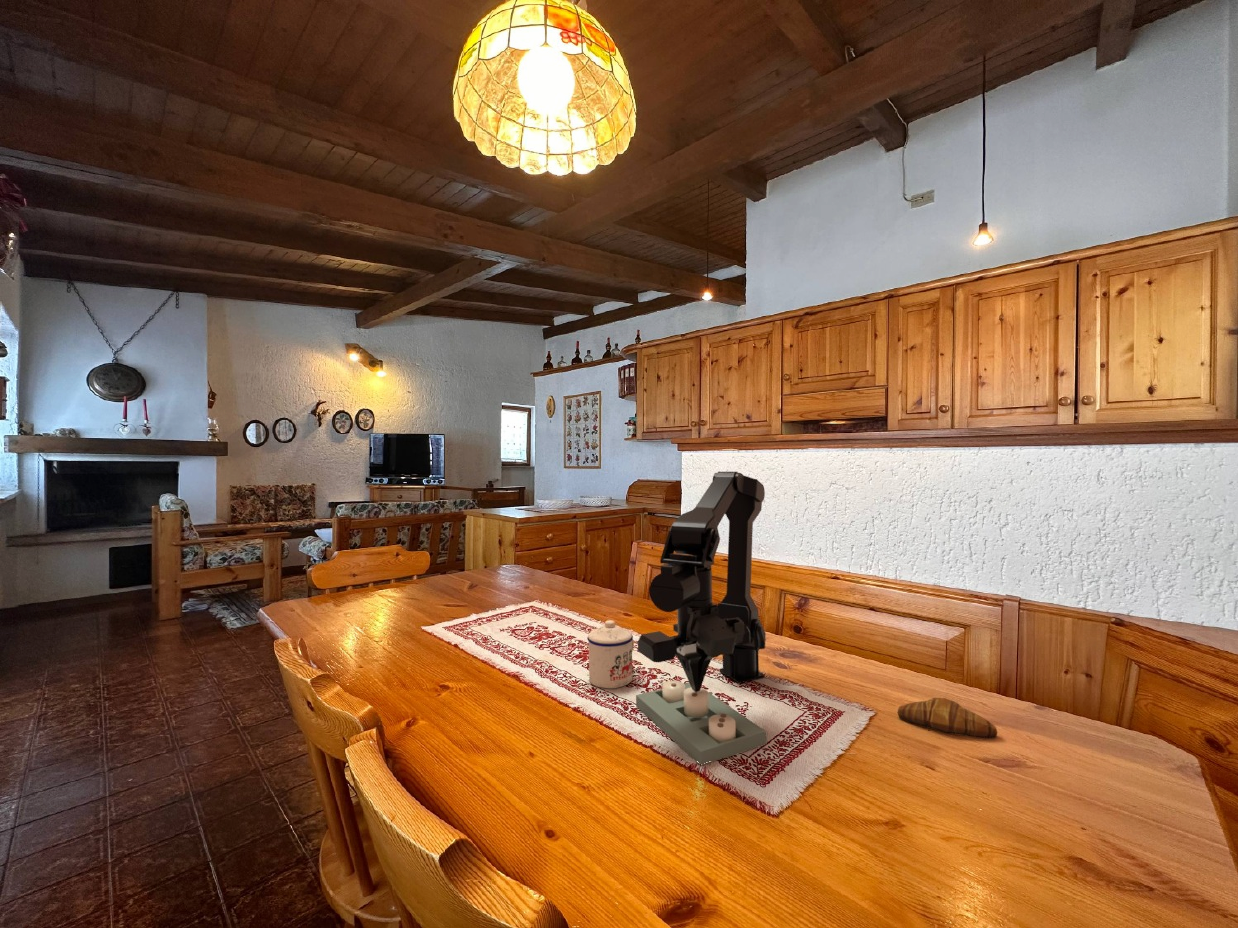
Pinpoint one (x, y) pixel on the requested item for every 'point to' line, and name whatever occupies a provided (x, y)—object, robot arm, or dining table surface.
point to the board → (700, 727)
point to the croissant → (947, 718)
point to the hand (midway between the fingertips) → (696, 690)
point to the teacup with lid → (610, 656)
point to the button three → (722, 728)
